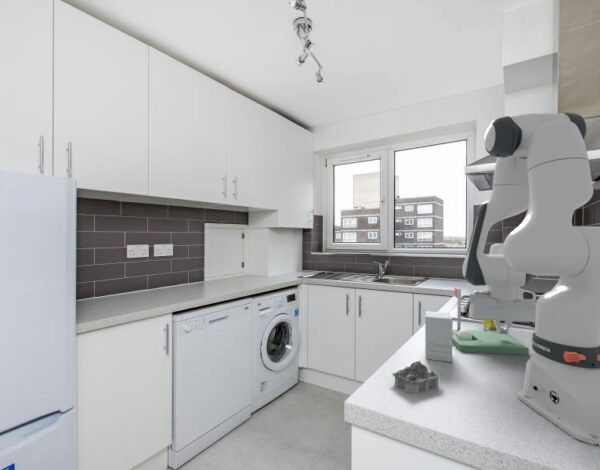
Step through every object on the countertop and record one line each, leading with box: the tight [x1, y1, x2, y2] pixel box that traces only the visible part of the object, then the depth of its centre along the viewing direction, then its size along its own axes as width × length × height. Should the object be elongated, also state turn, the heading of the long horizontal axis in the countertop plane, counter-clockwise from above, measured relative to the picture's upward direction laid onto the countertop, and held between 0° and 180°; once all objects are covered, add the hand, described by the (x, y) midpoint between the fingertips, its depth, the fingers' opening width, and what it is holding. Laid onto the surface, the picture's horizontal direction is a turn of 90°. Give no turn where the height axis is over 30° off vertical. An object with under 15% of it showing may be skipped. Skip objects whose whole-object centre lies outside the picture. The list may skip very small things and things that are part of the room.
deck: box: [452, 287, 530, 356], centre depth 107 cm, size 19×20×17 cm
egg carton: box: [391, 360, 442, 395], centre depth 78 cm, size 11×8×4 cm
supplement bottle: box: [482, 320, 501, 332], centre depth 120 cm, size 6×6×10 cm
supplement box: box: [424, 310, 454, 363], centre depth 95 cm, size 7×7×13 cm
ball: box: [457, 328, 472, 340], centre depth 107 cm, size 4×4×4 cm
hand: (502, 333), depth 105 cm, fingers closed
